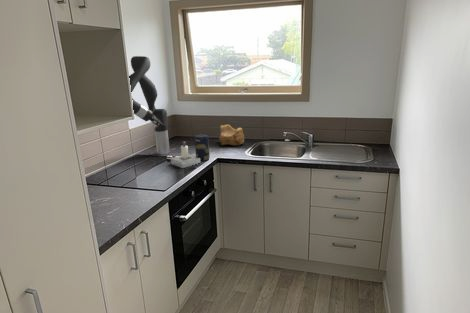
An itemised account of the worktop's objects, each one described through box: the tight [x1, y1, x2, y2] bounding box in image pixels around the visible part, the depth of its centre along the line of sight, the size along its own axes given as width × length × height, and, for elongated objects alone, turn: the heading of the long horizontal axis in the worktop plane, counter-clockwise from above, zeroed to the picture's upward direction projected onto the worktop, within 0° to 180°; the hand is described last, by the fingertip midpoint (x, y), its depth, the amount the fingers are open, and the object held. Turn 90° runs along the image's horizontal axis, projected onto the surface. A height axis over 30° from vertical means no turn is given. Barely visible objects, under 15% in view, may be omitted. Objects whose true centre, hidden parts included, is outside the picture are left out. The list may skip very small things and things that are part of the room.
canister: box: [194, 133, 211, 161], centre depth 227 cm, size 10×10×18 cm
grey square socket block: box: [170, 153, 201, 169], centre depth 220 cm, size 14×14×4 cm
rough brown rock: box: [218, 124, 245, 147], centre depth 269 cm, size 23×17×15 cm
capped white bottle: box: [180, 141, 189, 160], centre depth 219 cm, size 4×4×15 cm
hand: (162, 124), depth 219 cm, fingers open, 8 cm apart
